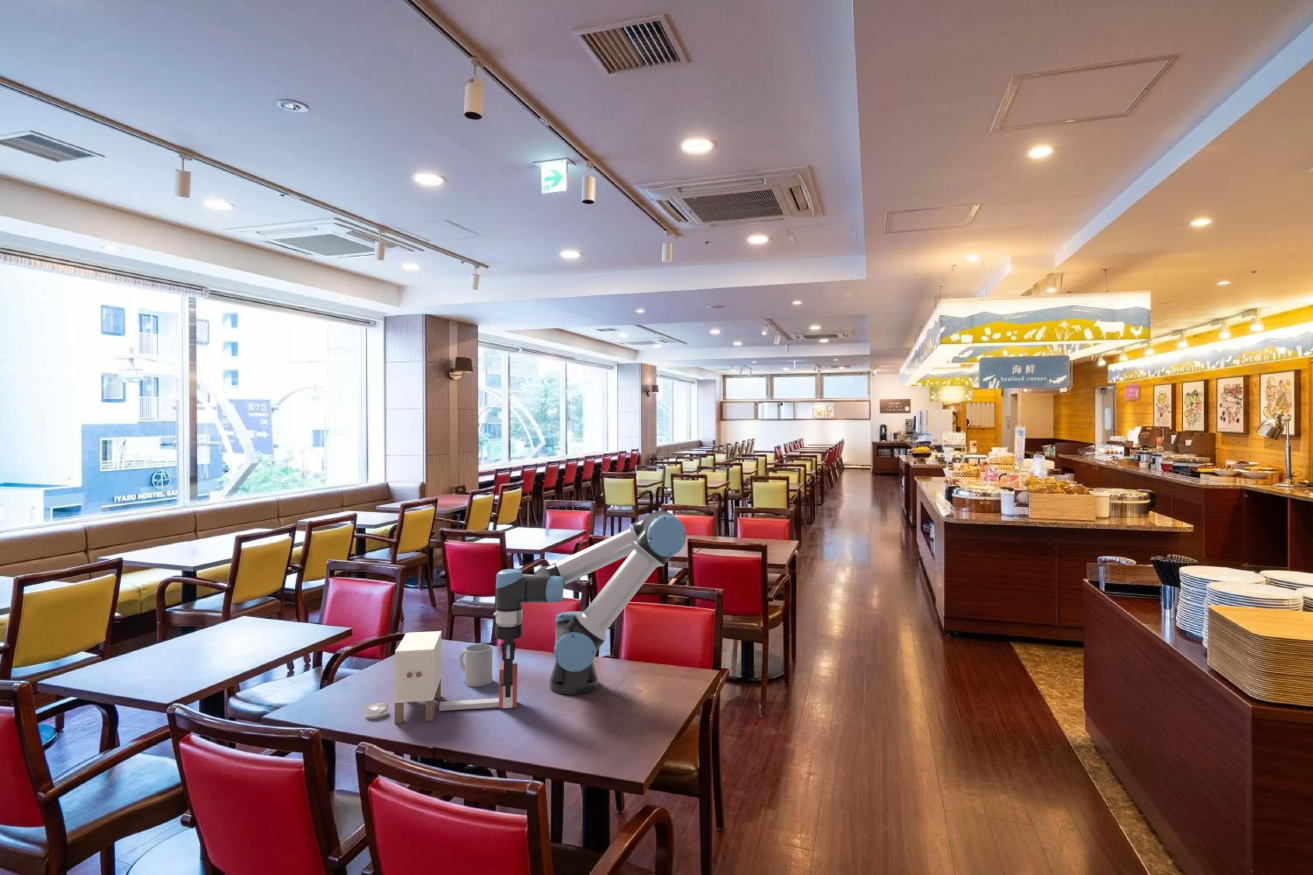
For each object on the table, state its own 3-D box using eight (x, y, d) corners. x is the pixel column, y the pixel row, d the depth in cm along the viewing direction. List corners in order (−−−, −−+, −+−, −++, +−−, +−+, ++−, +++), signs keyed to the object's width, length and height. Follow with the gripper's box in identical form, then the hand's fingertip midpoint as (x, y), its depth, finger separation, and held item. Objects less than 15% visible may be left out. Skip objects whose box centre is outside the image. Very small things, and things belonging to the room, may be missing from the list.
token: (389, 710, 190) (389, 701, 190) (386, 718, 184) (386, 710, 184) (367, 712, 188) (367, 703, 188) (363, 720, 183) (363, 712, 183)
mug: (497, 679, 214) (498, 645, 214) (480, 688, 206) (480, 653, 207) (468, 674, 219) (469, 640, 219) (450, 682, 212) (450, 647, 212)
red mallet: (516, 700, 196) (517, 663, 197) (516, 707, 192) (517, 668, 192) (440, 705, 192) (441, 667, 192) (438, 712, 187) (439, 672, 187)
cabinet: (440, 695, 200) (441, 630, 200) (432, 722, 181) (433, 650, 182) (405, 698, 198) (406, 632, 199) (393, 725, 179) (394, 652, 180)
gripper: (496, 616, 202) (495, 692, 202) (494, 632, 184) (493, 717, 184) (521, 614, 203) (521, 691, 203) (521, 631, 186) (521, 715, 185)
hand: (507, 703), depth 194 cm, fingers closed on red mallet, 5 cm apart
